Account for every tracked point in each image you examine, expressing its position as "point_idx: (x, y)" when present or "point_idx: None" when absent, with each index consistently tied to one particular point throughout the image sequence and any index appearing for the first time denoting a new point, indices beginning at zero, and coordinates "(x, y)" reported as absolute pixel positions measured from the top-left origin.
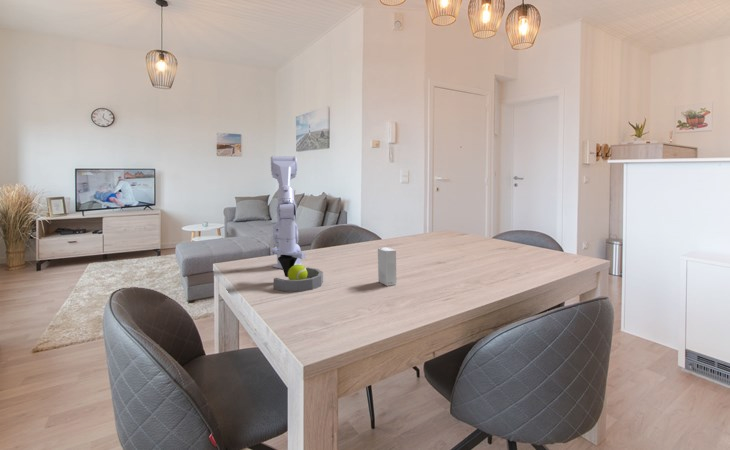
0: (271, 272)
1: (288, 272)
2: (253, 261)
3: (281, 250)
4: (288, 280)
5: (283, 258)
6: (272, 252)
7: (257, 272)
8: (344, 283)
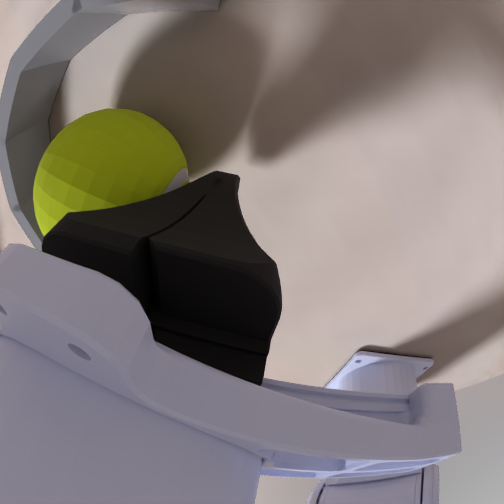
0: (426, 307)
1: (131, 141)
2: (496, 373)
3: (42, 405)
4: (55, 16)
5: (99, 242)
6: (429, 407)
7: (490, 289)
8: (27, 240)
